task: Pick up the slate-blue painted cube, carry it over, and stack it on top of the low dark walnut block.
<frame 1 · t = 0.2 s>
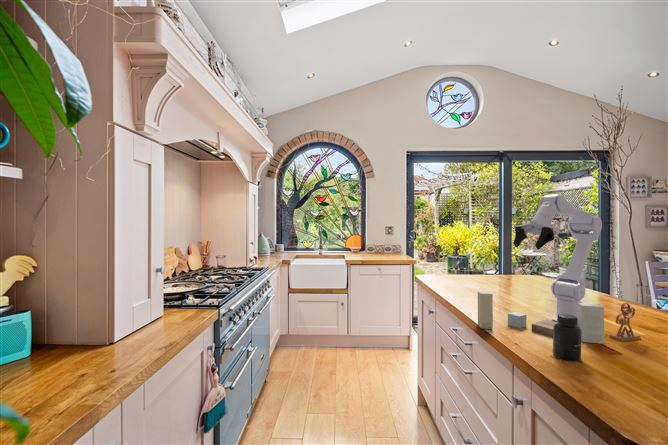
hand: (525, 246, 117), 31 cm above the worktop, tool tilted 45°, fingers open, 7 cm apart
skincare box: (590, 341, 111), on the worktop
slate cube: (516, 325, 126), on the worktop
brown character figurine: (625, 338, 113), on the worktop
box: (484, 327, 124), on the worktop
supplement bottle: (566, 357, 98), on the worktop
walnut block: (553, 333, 119), on the worktop
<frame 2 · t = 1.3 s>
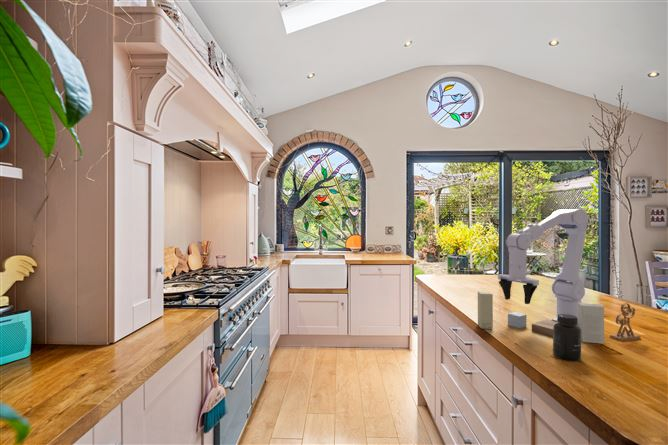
hand: (517, 301, 126), 9 cm above the worktop, tool pointing down, fingers open, 7 cm apart
nothing on the worktop moved.
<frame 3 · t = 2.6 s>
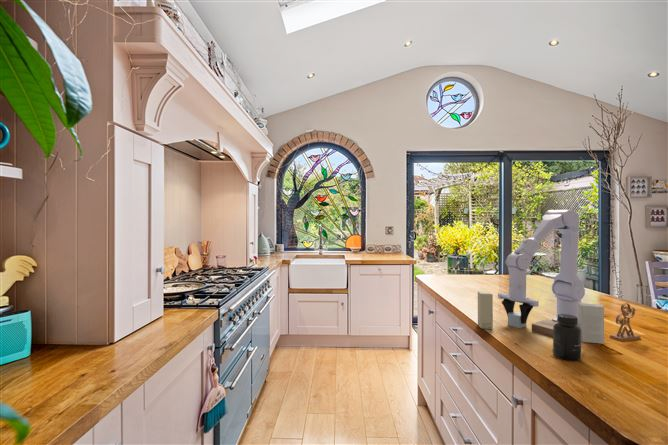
hand: (517, 321, 126), 2 cm above the worktop, tool pointing down, fingers closed on slate cube, 4 cm apart
slate cube: (516, 325, 126), on the worktop, touching gripper
everything else where it was.
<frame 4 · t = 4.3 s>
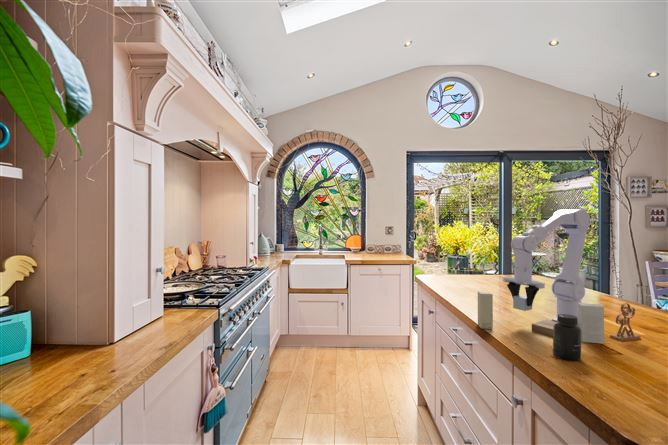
hand: (522, 304, 125), 8 cm above the worktop, tool pointing down, fingers closed on slate cube, 4 cm apart
slate cube: (522, 308, 125), point 7 cm above the worktop, touching gripper
everything else where it was.
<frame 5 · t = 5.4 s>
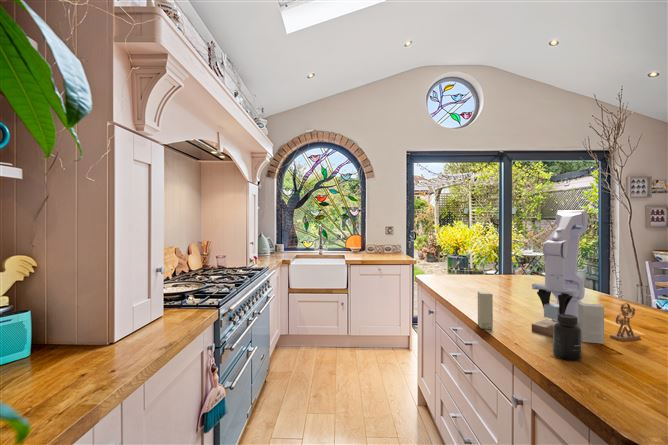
hand: (554, 313, 119), 7 cm above the worktop, tool pointing down, fingers closed on slate cube, 4 cm apart
slate cube: (554, 317, 119), point 5 cm above the worktop, touching gripper
everything else where it was.
when the fingers open (6 cm above the worktop, at t = 6.1 s): slate cube drops 1 cm, point 3 cm above the worktop.
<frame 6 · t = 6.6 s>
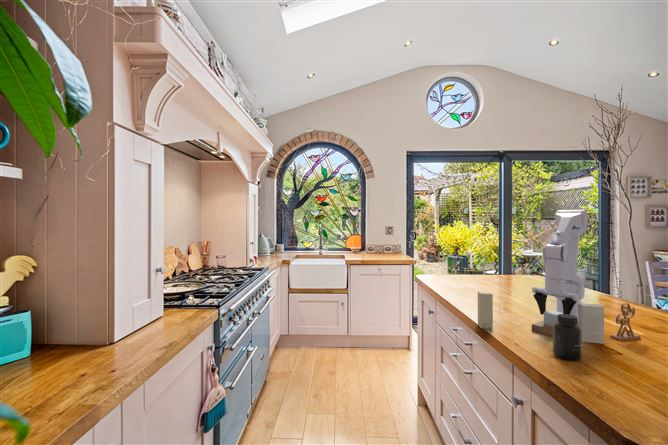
hand: (554, 316, 119), 6 cm above the worktop, tool pointing down, fingers open, 7 cm apart
slate cube: (553, 325, 119), point 3 cm above the worktop
everything else where it was.
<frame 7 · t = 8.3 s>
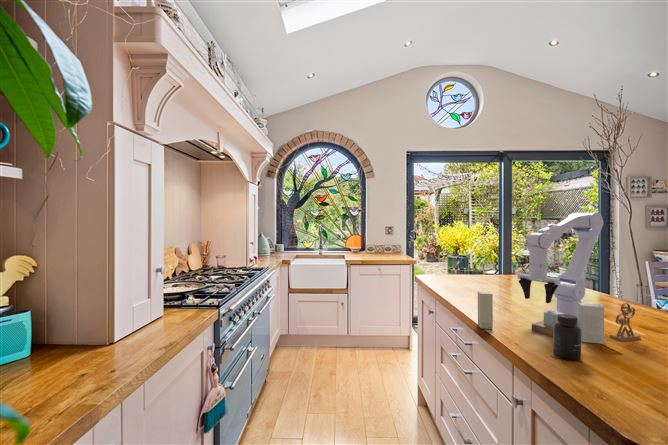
hand: (537, 300, 127), 9 cm above the worktop, tool pointing down, fingers open, 7 cm apart
slate cube: (553, 325, 119), point 3 cm above the worktop, touching walnut block
walnut block: (553, 333, 119), on the worktop, touching slate cube
everything else where it was.
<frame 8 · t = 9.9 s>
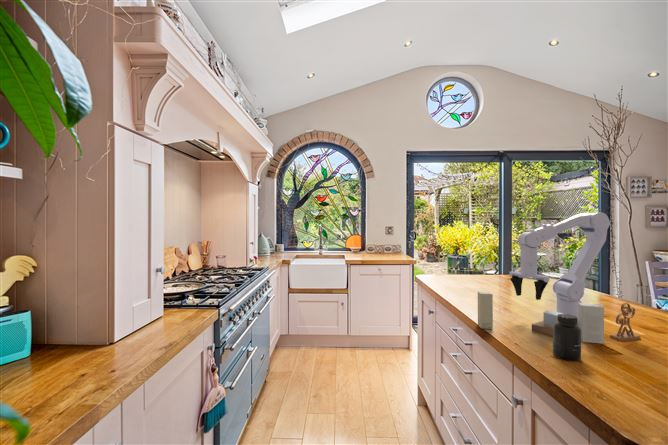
hand: (528, 297, 131), 9 cm above the worktop, tool pointing down, fingers open, 7 cm apart
nothing on the worktop moved.
at the end: slate cube inside the target area on the walnut block (0.3 cm from its centre), point 3.0 cm above the walnut block's base; slate cube tilted 0°; the gripper is holding nothing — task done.
